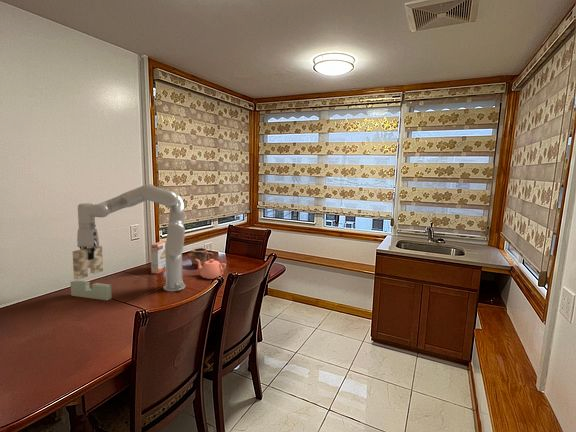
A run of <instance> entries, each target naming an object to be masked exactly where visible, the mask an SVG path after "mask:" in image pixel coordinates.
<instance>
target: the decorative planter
mask: <svg viewBox="0 0 576 432" xmlns="http://www.w3.org/2000/svg"><path fill="white" fill-rule="evenodd" d="M209 256H211V259H215V255H214V253H213V252H208V250H207V248H203V247H199V248H198V247H197V248H193V249H191V250H190V251H189V253H188V254H187V258H188V259H189V261H191V267H192V269H194V268H196V269H195V270H199V269H198V262H197V260H196V259H198V260H200V263H201V266H203V264H204V263H205V262H206V261H210V259H209Z"/></svg>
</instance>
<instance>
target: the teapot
mask: <svg viewBox="0 0 576 432" xmlns="http://www.w3.org/2000/svg"><path fill="white" fill-rule="evenodd" d="M196 260H197V262H198V269H197V270H198V271H199V274H200V276H201V277H202V278H203V279H205V278H206V279H207V280H215V279H214V278H216V277H219V276H223V274H224V271H225V269H226V266H227V264H226V263H222V262H221V263H220V261H218V260H215V258H213V259H212V258H210V259H209V260H210V261H206V262H205V263H204V264H203V266H201V263H200V260H198V259H196ZM219 278H220V277H219ZM216 279H217V278H216Z"/></svg>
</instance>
